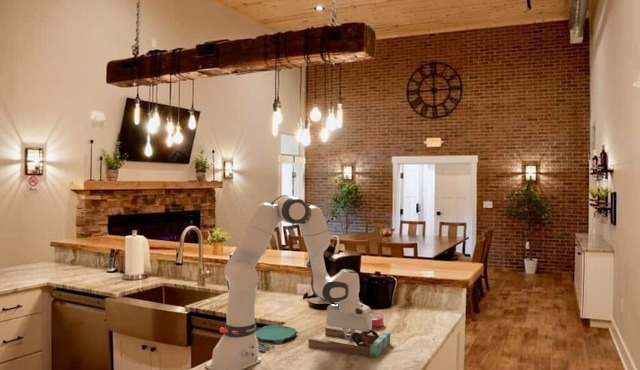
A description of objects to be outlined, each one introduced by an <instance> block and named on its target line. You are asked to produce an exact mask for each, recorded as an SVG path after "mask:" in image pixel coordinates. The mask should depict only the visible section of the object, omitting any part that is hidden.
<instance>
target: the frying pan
mask: <svg viewBox="0 0 640 370" xmlns="http://www.w3.org/2000/svg"><path fill="white" fill-rule="evenodd" d="M369 313H370V315H371V318H372V329H371V330H373V329H379V328H382V327H383V326H384V315H383V314H382V313H378V312H372V311H371V312H370V311H369Z"/></svg>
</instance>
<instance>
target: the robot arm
mask: <svg viewBox="0 0 640 370" xmlns="http://www.w3.org/2000/svg"><path fill="white" fill-rule="evenodd" d="M281 222H284V223H289V224H293V225H299V227H300V229H301V235H302V238H303V241H304V245H305V247H306V250H307V255H308V260H309V266H310V269H311V284H310V285H311V291H312V292H313V294H314V295H315V296H317V297H320V298H321V299H323V300H324V301H326V302H328V303H337V302H338V304H329V305H328V306H327V307H326V312H327V314H326V325H327V327H333V328H339V329H343V332H344V334H345V338H344V339H348V340H352V339H351V335H352V333H354V331H357V332H363V331H365V332H369V331H370V330H373V329H372V318H371V315H370V313H369V312H370V311H371V307H370V306H368V305H366V304H364V303H362V302H360V297H359V293H360V276H359V273H358V272H356V271H355V270H353V269H349V268H347V269H346V268H343V269H341V270H340V271H339V272H338V273H336V274H335V275H333V276H331V275H329V273H328V271H327V269H326V264H325V263H326V262H325V258H324V253H325V251H326V250H328V248H329V246H330V244H331V239H330V238H331V236H330V231H329V227H328V223H327V221H326V218H325V215H324V213H323V211H322V209H321V208H320V207H319V206H316V205H310V206H309V205H308V204H307V203H306V202H305V201H304V199H301V198H300V197H298V196H297V197H296V196H295V195H290V194H284V195H279V196H278V197H276V199H274V201H272V202H271V203H270V202H262V203H261V202H260V203H259V204H257V206H256V208H255V209H254V210H253V212H252V214H251V216H250V218H249V220H248V222H247V224H246V227H245V229H244V231H243V234H242V236H241V238H240V240H239V243H238V245H237V246H236V248H235V249H234V251H233V252H232V255H231V256H230V258H229V259H228V262H227V263H226V264H225V265H224V270H223V271H224V273H223V274H224V277H225V279H226V281H227V282H228V287H229V288H228V297H227V302H226V322H225V325H224V327H223V326H222V327H220V328H219V333H221V334H222V333H223V335H222V336H221V338H220V339H219V341H218V342H217V344H216V345H215V347H214V348H213V349H212V350H213V351H212V354H211V355H212V357H211V359H210V360H209V361H207V362H206V363H205V368H207V369H208V370H245V369H247V368H249V367H252V366H253V365H257V364H258V363H261V361H262V357H260V354H259V353H260V351H258V349H259V347H258V346H259V344H258V343H259V342H258V341H259V339H257V338H256V335H255V331H256V330H257V323H256V321H255V315H256V314H255V311H256V309H255V308H256V298H257V297H256V296H257V291H258V285H259V279H260V278H259V274H258V271H257V269H256V266H257V264H258V262H260V260H261V258H262V257H263V256H264V255H265V254H266V252H267V249H268V247H269V245H270V242H271V240H272V238H273V235H274V233H275V229H276V227H277V226H278V225H279V224H280V223H281ZM347 330H350V332H351V331H352V332H351V334H348V332H347Z"/></svg>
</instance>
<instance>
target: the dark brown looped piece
mask: <svg viewBox="0 0 640 370" xmlns="http://www.w3.org/2000/svg"><path fill="white" fill-rule="evenodd" d="M360 332H361V333H360V334H359V333H352V335H351V339H350V340H352V342H353V343H355V344H356V345H355V346H359V345H360V343H364V344H366V346H365V347H367V348H370V345H371V344H372V343H373V342H374V341H371V342H369V340H370V339H369V338H367V337H366V335H367V334H369V333H370V334H373V335H374V336H376V337H377V338H379V336H378V335H379V334H378V333H377V332H376V331H375V330H373V329H371V330H370V331H369V332H365V331H360ZM354 337H356V338H357V339H355V338H354Z"/></svg>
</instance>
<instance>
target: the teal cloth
mask: <svg viewBox="0 0 640 370" xmlns="http://www.w3.org/2000/svg"><path fill="white" fill-rule="evenodd" d="M297 334H298V330H296V329H295V328H294V327H291V326H285V325H278V324H271V325H270V324H269V325H264V326H263V327H260V328H256V331H255V335H256V338H257V340H258V341H259V340H260V341H263V342H258V352H259V353H260V352H261V353H266V350H270V349H271V348H273V347H274V348H275V345H270V344H266V343H264V342H274V343H276V344H278V343H279V344H282V343H283V341H286V340H287V341H288V340H290V339H292V338H294V337H295V336H296V335H297ZM261 348H262V349H261Z"/></svg>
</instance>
